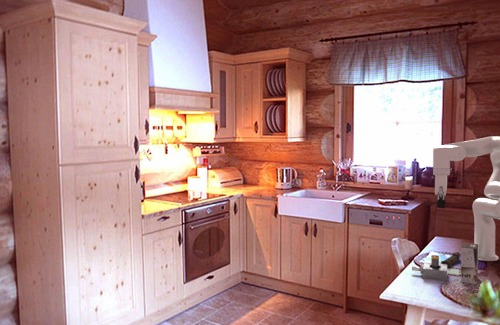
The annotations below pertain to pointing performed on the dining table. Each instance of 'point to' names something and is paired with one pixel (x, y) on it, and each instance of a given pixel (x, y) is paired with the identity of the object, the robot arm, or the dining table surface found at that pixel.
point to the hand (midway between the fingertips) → (441, 206)
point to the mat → (453, 271)
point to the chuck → (432, 271)
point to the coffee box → (469, 263)
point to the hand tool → (451, 259)
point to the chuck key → (434, 261)
